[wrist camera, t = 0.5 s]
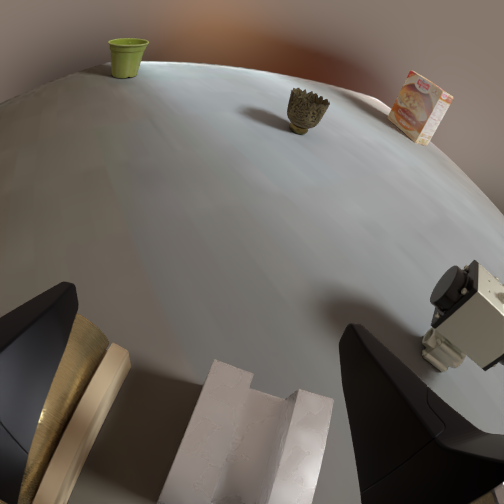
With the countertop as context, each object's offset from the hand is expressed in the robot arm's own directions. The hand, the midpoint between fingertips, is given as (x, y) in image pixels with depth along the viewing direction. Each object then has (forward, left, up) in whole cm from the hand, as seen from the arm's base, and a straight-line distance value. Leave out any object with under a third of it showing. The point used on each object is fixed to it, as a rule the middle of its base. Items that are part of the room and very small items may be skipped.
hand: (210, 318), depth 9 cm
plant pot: (+56, +42, -15) cm, 72 cm away
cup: (+53, 0, -15) cm, 55 cm away
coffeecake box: (+94, -32, -15) cm, 100 cm away
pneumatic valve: (+14, -24, -15) cm, 31 cm away
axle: (-6, +8, -14) cm, 17 cm away
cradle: (-2, -5, -15) cm, 16 cm away
